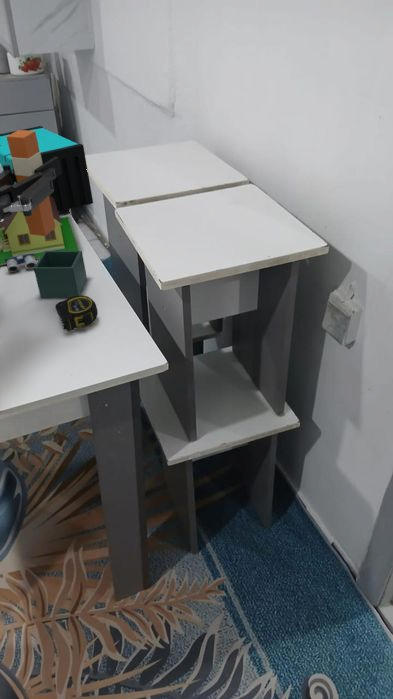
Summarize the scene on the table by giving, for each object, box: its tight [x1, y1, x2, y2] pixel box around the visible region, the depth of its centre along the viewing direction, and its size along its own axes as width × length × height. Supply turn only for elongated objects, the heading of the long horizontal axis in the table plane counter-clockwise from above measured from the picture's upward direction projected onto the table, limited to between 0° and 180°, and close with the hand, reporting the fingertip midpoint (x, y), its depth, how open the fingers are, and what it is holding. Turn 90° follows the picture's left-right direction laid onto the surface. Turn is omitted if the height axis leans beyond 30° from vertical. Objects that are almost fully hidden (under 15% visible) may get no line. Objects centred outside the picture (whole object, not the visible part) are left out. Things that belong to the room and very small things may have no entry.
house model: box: [0, 195, 80, 266], centre depth 120 cm, size 18×20×13 cm
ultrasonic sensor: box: [5, 253, 37, 273], centre depth 113 cm, size 6×2×3 cm, turn 108°
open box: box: [33, 250, 88, 299], centre depth 105 cm, size 8×7×6 cm
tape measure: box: [54, 295, 99, 332], centre depth 96 cm, size 7×7×4 cm
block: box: [7, 129, 56, 236], centre depth 87 cm, size 3×4×16 cm
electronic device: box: [0, 125, 94, 213], centre depth 137 cm, size 25×25×15 cm
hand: (48, 164), depth 90 cm, fingers closed on block, 3 cm apart
